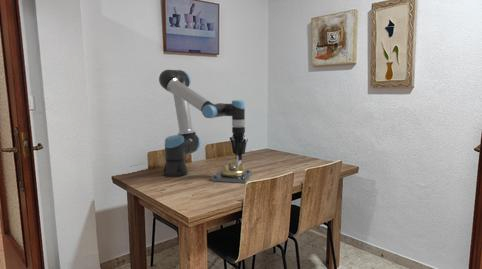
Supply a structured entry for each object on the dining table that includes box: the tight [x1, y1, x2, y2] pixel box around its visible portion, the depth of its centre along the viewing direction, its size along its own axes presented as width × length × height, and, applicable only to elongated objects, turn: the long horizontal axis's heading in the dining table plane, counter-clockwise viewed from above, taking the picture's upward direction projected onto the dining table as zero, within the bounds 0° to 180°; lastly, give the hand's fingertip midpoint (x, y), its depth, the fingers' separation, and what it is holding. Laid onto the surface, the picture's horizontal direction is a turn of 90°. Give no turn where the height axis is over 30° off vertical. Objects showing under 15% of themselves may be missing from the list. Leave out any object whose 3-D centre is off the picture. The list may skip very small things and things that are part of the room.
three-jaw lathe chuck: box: [220, 161, 245, 177], centre depth 202 cm, size 14×14×6 cm
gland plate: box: [210, 169, 253, 184], centre depth 203 cm, size 20×20×3 cm
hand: (238, 165), depth 206 cm, fingers closed
